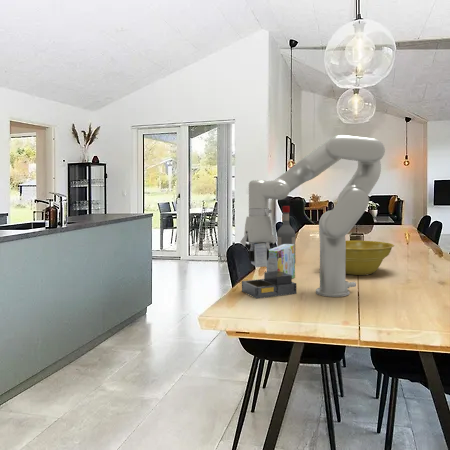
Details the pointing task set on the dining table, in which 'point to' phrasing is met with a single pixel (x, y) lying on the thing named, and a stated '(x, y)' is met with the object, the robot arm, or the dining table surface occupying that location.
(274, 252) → the snack box
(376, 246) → the planter bowl
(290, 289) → the rack
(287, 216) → the liquor
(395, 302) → the dining table surface
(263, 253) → the medicine box
